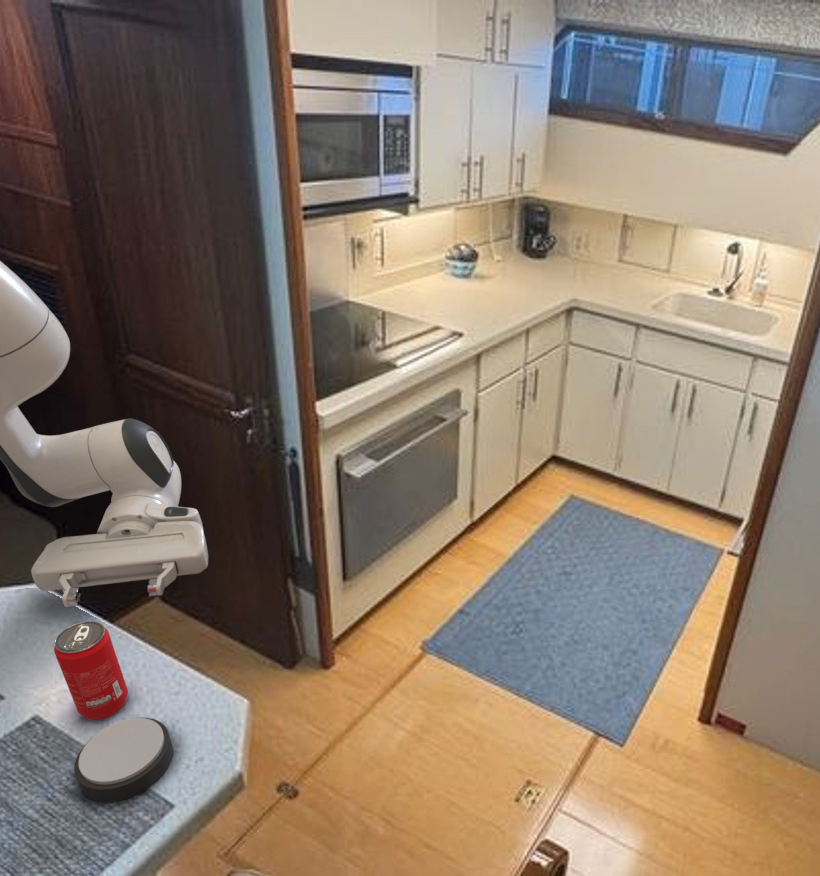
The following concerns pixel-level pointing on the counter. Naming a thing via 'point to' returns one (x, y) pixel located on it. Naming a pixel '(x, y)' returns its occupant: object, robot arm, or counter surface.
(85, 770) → the scale
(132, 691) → the counter surface
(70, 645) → the beverage can
